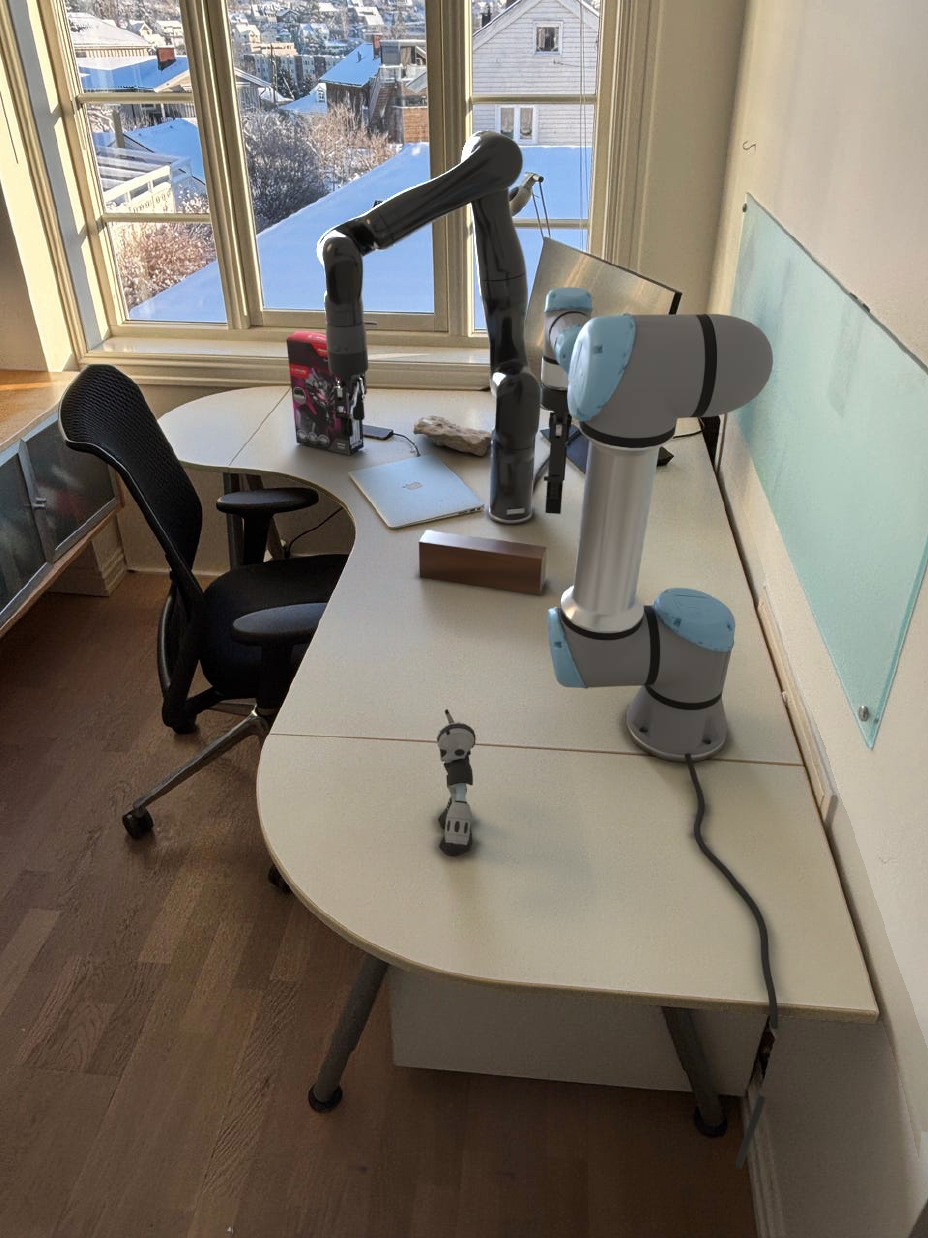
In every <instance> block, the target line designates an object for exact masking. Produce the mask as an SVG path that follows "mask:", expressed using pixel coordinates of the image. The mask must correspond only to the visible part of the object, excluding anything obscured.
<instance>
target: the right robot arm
mask: <svg viewBox="0 0 928 1238" xmlns="http://www.w3.org/2000/svg"><path fill="white" fill-rule="evenodd" d="M543 313H544V331H543V353H542V357H541V358H542V359H541V373H540V374H541V375H540V380H541V382H542V383H541V384H540V387H541V395H540V403H541V407H543V408H544V409H545V410H549V411H550V412H549V418H548V429H549V432H548V442H549V443H550V447H549V448H550V449H549V455H550V458H549V461H548V470H547V471H548V472H547V476H546V475H544V476H543V481H545V482H546V493H545V494H546V496H545V511H544V513H545V514H555V515H561V514H562V513H561V512H562V499H563V488H564V487H563V486H564V481H565V477H566V466H567V465H566V464H567V454H568V453H567V452H568V447H571V443H572V440H571V439H569V435H570V430H571V429H572V423H573V419H575V420H577V421H578V428H579V429H580V431H579V432H580V433H581V434H582V435H583V436H584V437H585V438H586V439H587V440H588V450H587V458H586V468H585V476H584V486H583V493H582V494H583V496H582V504H581V513H580V524H579V532H578V541H577V550H576V558H575V559H576V560H575V570H574V577H573V585H572V586H569V588H568V589H566V590H565V591H564V592H563V594H562V595H561V600H560V606H554V607H552V608H549V609H548V610H547V614H546V620H547V621H546V623H547V633H548V642H549V650H550V656H551V662H552V668H553V673H554V676H555V679H556V681H557V683H558V684H559V685H561V686H562V687H565V688H573V689H574V688H575V689H576V688H578V689H585V690H588V689H590V688H609V687H611V688H612V687H632V686H634V687H636V686H637V687H638V686H639V687H640V688H639V689H638V691H637V692H636V694H635V695H634V697H633V699H632V701H631V702H630V704H629V706H628V708H627V713H626V719H625V728H626V732H627V734H628V736H629V738H630V739H631V741H632V742H634V744H636V745H637V746H638V747H639V748H640V749H641V750H643V751H645V752H646V753H648V754H650V755H651V756H654V757H656V758H659V759H662V760H666V761H670V762H675V763H686V765H687V768H688V771H689V775H690V778H691V782H692V785H693V787H694V790H695V794H696V797H697V812H696V816H695V819H694V823H693V835H694V839H695V841H696V844H697V846H698V847H699V849H700V851H701V852H702V853H703V855H704V856H705V857H706V858H707V859H708V860H709V861H710V862H711V864H713V865H714V866H715V867H716V868H717V870H719V871H720V872H721V873H722V874H723V876H724V877H725V878H726V879H727V881H728V882H729V884H731V886H732V887H733V888H734V890H735V891H736V892H737V893H738V894H739V895H740V897H741V898H742V899H743V901H744V902H745V904H746V905H747V906H748V908H749V910H750V911H751V912H752V914H753V917H754V919H755V921H756V924H757V926H758V930H759V931H758V932H759V938H760V959H761V960H760V961H761V967H762V973H763V978H764V984H765V987H766V992H767V999H768V1008H769V1026H770V1028H771V1029H773V1030H777V1029H779V1011H778V1010H779V1008H778V1000H777V995H776V989H775V984H774V981H773V976H772V971H771V965H770V952H769V951H770V950H769V936H768V930H767V929H768V928H767V925H766V923H765V919H764V917H763V914H762V912H761V910H760V909H759V907H758V905H757V904H756V902H755V900H754V899H753V897H752V896H751V895H750V894H749V893H748V891H747V890H746V889H745V888H744V887H743V886H742V884H741V883H740V882H739V880H737V878H736V877H735V876H734V874H733V873H732V872H731V871H730V869H728V867H727V866H726V865H725V864H724V863H723V862H722V861H721V860H720V859H719V858H718V857H717V856H716V855H715V854H714V853H713V852H712V851H711V850H710V849H709V847H708V845H706V843H705V841H704V840H703V837H702V833H701V826H702V822H703V819H704V814H705V811H706V810H705V809H706V808H705V807H706V803H705V797H704V793H703V789H702V787H701V784H700V781H699V778H698V774H697V772H696V768H695V764H694V762H700V761H703V760H706V759H709V758H711V757H714V755H716V754H718V752H720V751H721V750H722V748H723V747H724V744H725V743H726V740H727V739H726V738H727V733H728V721H727V716H726V712H725V708H724V707H725V706H724V701H723V692H724V686H725V682H726V678H727V674H728V669H729V664H730V659H731V654H732V651H733V649H734V646H735V632H736V620H735V617H734V614H733V612H732V611H731V609H730V608H729V607H728V606H727V605H726V604H725V603H723V601H721V600H720V599H718V598H716V597H715V596H712V595H711V594H709V593H706V592H704V591H701V590H698V589H695V588H694V589H693V588H686V587H672V588H667V589H665V590H664V591H660V593H658V595H657V596H656V597H655V599H654V601H653V604H649V605H647V604H645V605H644V602H643V600H642V598H641V597H640V596H639V595H638V594H637V588H638V582H639V576H640V575H639V574H640V569H641V564H642V558H643V551H644V545H645V538H646V532H647V527H648V521H649V520H648V519H649V514H650V513H649V512H650V507H651V502H652V496H653V490H654V485H655V478H656V477H655V476H656V470H657V464H658V459H659V452H660V448H662V447H664V446H665V445H666V444H669V442H671V441H672V440H673V439H674V437H675V434H676V428H677V424H678V420H679V419H687V418H689V419H691V418H711V417H717V416H722V415H725V414H729V413H731V412H735V410H738V409H741V408H742V407H744V406H746V405H748V404H749V403H751V402H752V401H753V400H754V399H755V398H757V396H759V394H760V393H761V392H762V391H763V389H764V388H765V386H766V385H767V383H768V381H769V380H770V376H771V375H772V371H773V364H774V356H773V355H774V354H773V348H772V344H771V342H770V341H769V339H768V337H767V336H766V334H765V333H764V331H762V329H761V328H759V327H758V326H757V325H755V324H754V323H752V322H750V321H747V320H745V319H743V318H740V317H737V316H733V315H728V314H720V313H702V314H693V313H690V314H689V313H688V314H687V313H686V314H675V313H674V314H631V313H629V312H623V313H620V314H617V315H615V314H614V315H604V316H596V317H593V318H592V313H593V296H592V293H591V292H590V291H588V290H587V289H584V288H580V287H576V286H575V287H573V286H561V287H556V288H553V289H551V290H550V291H549V292H548V293H547V294H546V300H545V309H544V311H543ZM766 1099H767V1097H766V1096H763V1095H761V1094H757V1096H756V1101H755V1105H754V1108H753V1111H752V1114H751V1116H750V1120H749V1123H748V1125H747V1128H746V1131H745V1134H744V1136H743V1138H742V1142H741V1145H740V1148H739V1151H738V1155H737V1157H736V1160H735V1167H736V1168H737V1169H742V1168H743V1167H744V1163H745V1160H746V1157H747V1155H748V1151H749V1148H750V1145H751V1143H752V1141H753V1138H754V1135H755V1132H756V1130H757V1126H758V1124H759V1121H760V1118H761V1115H762V1112H763V1108H764V1107H765V1103H766Z"/></svg>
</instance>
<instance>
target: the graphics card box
mask: <svg viewBox="0 0 928 1238" xmlns="http://www.w3.org/2000/svg"><path fill="white" fill-rule="evenodd" d="M285 341H286V348H287V349H286V350H287V359H288V369H289V378H290V389H291V398H292V408H293V420H294V428H295V441H296V444H300V445H304V446H309V447H314V448H317V449H321V450H326V451H330V452H334V453H340V454H343V455H348V456H351V455H353V454H354V453H356V452H358V451H359V450H361V449H363V448H364V445H365V443H364V428H363V427H364V426H363V424H364V423H363V420H354V418H353V413H352V421H353V435H352V437H345V436H342V434H341V422H340V418H336V417H335V404H334V391H333V389H334V387H337V384H338V382H339V377H338V376H337V375H335V374H333V373H331V372H330V370H329V364H328V353H327V343H326V334H324V333H318V332H313V331H312V332H311V331H306V330H298V331H295V332H293V333H292V334H290V335H289V336H288V337H286V340H285ZM343 412H345V407H343Z"/></svg>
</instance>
